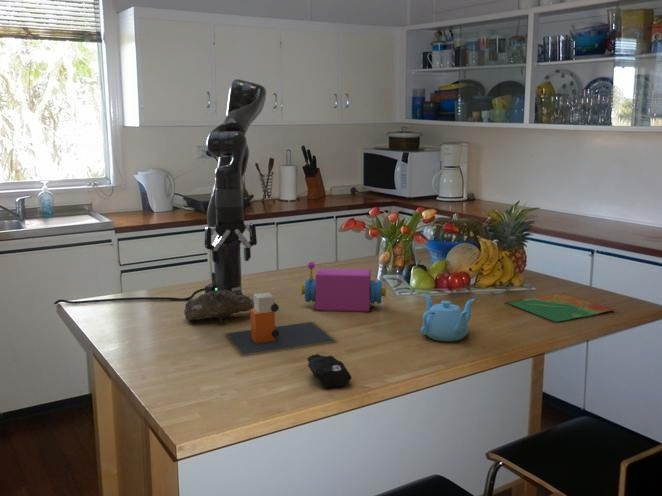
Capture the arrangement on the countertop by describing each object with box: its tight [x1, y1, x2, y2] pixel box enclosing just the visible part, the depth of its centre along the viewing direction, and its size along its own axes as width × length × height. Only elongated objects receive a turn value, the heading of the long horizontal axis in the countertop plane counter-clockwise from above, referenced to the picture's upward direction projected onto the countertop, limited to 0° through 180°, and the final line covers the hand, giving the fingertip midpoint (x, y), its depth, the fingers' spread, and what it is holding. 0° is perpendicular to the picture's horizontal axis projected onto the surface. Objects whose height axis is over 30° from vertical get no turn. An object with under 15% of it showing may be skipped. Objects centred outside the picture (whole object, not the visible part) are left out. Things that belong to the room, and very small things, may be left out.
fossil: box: [183, 290, 254, 324], centre depth 203 cm, size 22×10×15 cm
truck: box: [249, 291, 280, 343], centre depth 185 cm, size 7×5×13 cm
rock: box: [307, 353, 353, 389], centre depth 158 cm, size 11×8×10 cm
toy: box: [301, 261, 387, 313], centre depth 217 cm, size 28×9×15 cm, turn 85°
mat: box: [227, 321, 335, 355], centre depth 188 cm, size 26×18×1 cm
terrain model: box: [508, 292, 615, 323], centre depth 218 cm, size 25×22×1 cm
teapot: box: [420, 293, 476, 342], centre depth 190 cm, size 15×15×10 cm
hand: (231, 262), depth 184 cm, fingers open, 8 cm apart
